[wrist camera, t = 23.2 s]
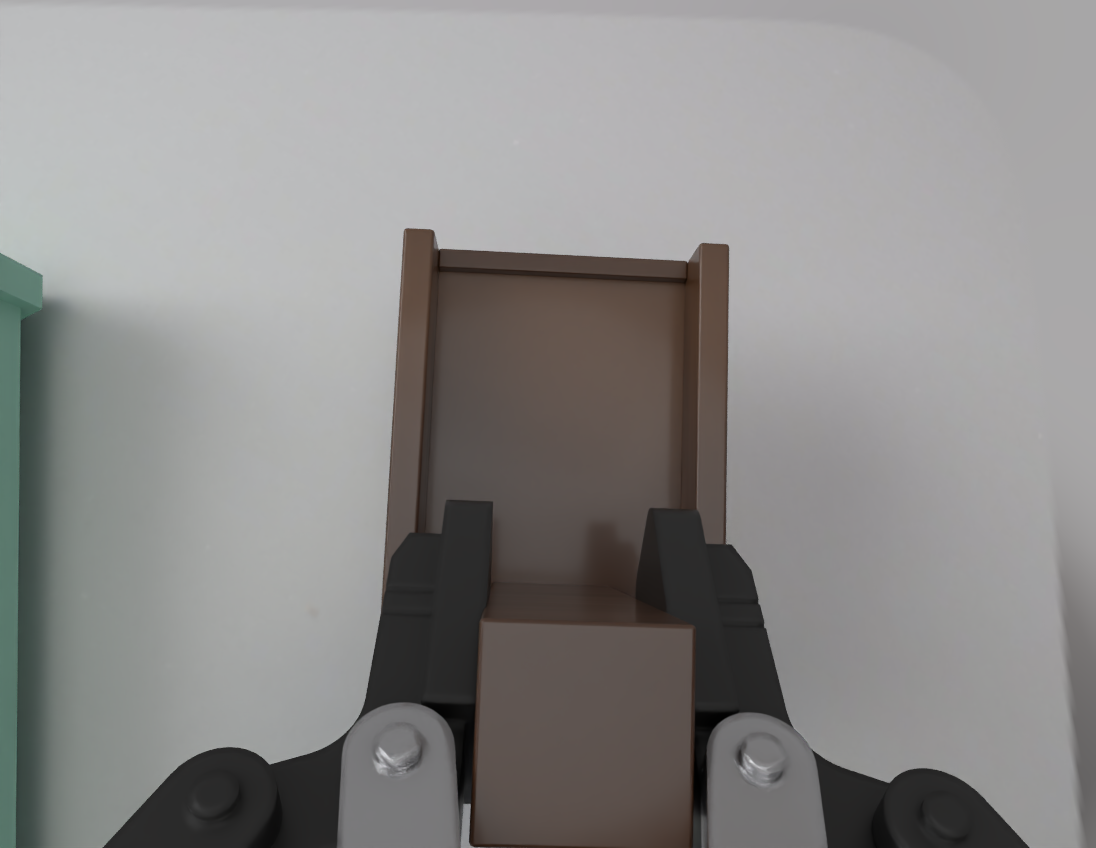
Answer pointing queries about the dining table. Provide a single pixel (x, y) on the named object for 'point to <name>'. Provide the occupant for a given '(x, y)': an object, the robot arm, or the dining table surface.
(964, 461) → the dining table surface
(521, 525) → the scoop
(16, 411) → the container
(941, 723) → the dining table surface
